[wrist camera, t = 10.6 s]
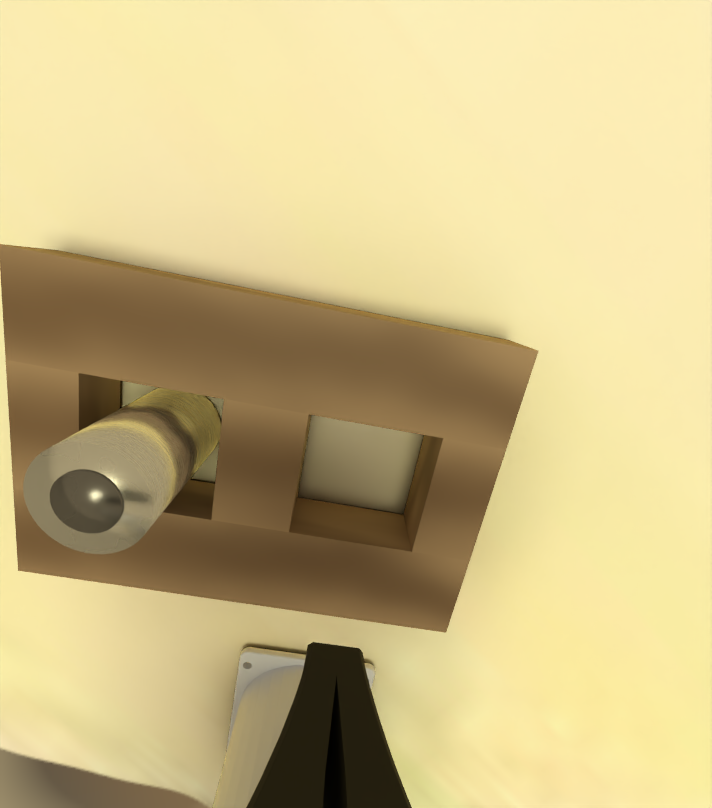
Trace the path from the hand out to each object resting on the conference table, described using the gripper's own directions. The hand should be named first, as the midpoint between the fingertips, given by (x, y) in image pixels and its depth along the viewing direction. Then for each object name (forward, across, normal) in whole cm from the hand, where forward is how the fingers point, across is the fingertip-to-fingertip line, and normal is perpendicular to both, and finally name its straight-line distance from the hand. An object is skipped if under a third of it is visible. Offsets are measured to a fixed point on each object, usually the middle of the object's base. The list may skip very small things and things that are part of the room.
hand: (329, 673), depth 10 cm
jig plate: (+10, +4, -2) cm, 11 cm away
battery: (+10, +8, -2) cm, 13 cm away
